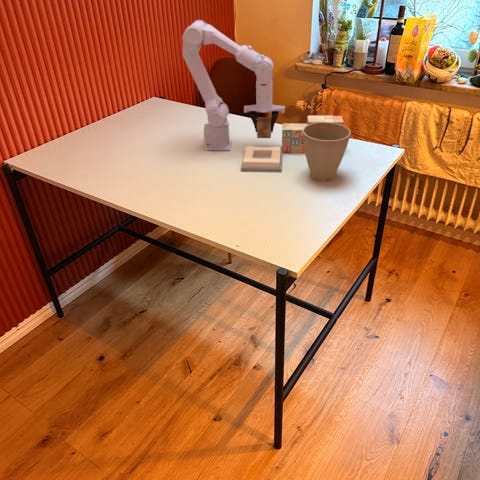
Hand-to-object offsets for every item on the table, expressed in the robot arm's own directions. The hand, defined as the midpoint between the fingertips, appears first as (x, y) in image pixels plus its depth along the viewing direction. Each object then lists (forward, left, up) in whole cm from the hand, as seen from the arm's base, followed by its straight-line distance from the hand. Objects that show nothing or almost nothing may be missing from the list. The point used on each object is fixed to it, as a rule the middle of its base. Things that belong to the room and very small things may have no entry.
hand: (264, 131), depth 166 cm
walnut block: (0, 0, -2) cm, 2 cm away
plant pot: (+21, -21, -7) cm, 31 cm away
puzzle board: (0, -12, -7) cm, 14 cm away
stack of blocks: (+17, -1, -7) cm, 19 cm away
